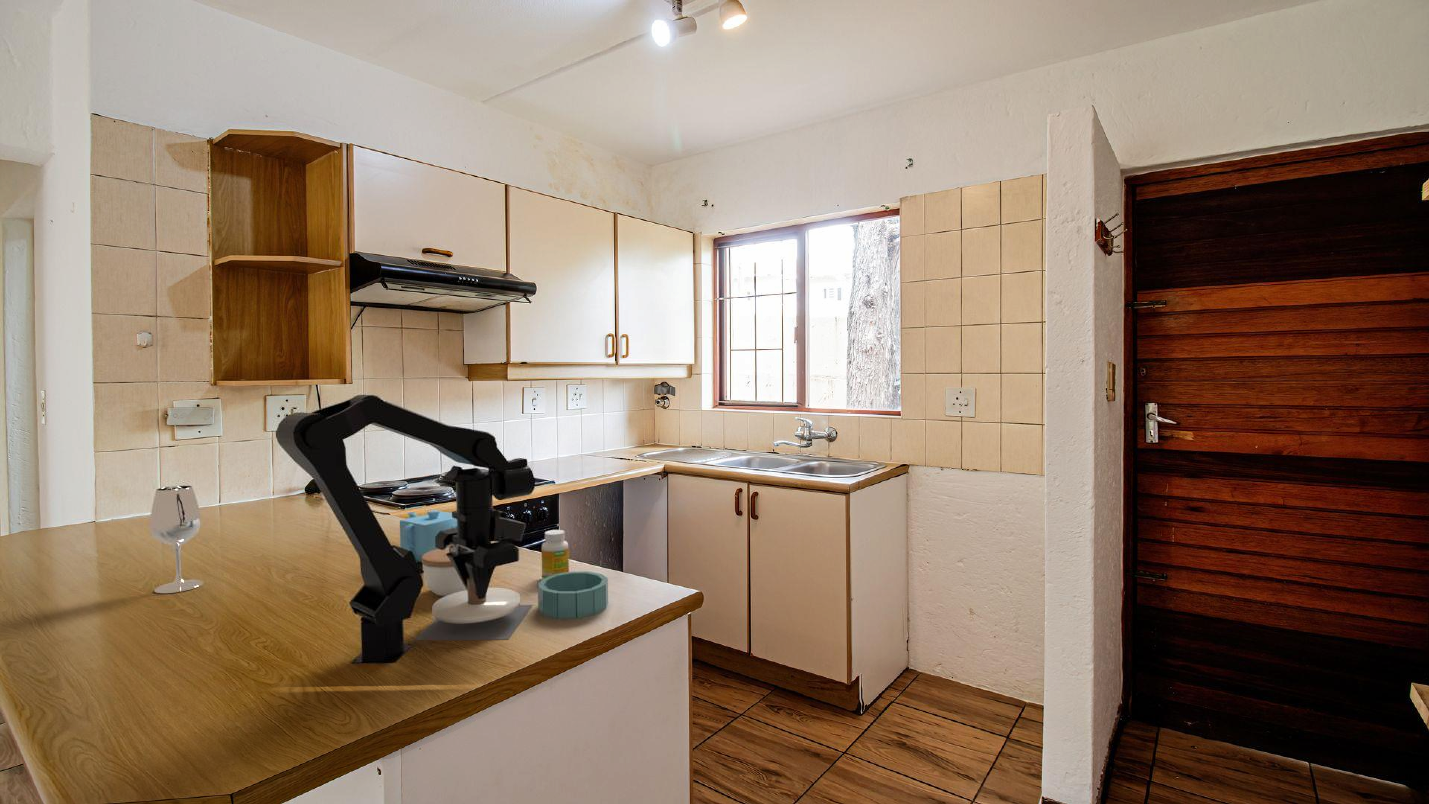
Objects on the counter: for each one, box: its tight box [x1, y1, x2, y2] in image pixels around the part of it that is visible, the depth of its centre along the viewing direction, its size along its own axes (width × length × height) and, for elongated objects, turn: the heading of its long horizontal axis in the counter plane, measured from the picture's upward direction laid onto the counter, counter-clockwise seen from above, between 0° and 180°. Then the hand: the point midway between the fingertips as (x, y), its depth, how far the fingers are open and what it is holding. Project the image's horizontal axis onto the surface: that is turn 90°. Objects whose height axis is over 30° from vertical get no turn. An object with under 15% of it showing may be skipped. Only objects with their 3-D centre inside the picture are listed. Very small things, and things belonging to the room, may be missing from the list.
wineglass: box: [149, 485, 204, 595], centre depth 130 cm, size 8×8×20 cm
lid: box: [431, 577, 521, 623], centre depth 111 cm, size 14×14×5 cm
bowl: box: [537, 571, 609, 620], centre depth 118 cm, size 12×12×5 cm
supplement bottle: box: [541, 529, 570, 580], centre depth 135 cm, size 5×5×10 cm
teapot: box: [399, 509, 457, 564], centre depth 149 cm, size 16×18×11 cm
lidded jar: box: [421, 545, 466, 597], centre depth 127 cm, size 11×11×9 cm
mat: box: [412, 604, 533, 642], centre depth 111 cm, size 15×15×1 cm
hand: (476, 596), depth 111 cm, fingers closed on lid, 3 cm apart
